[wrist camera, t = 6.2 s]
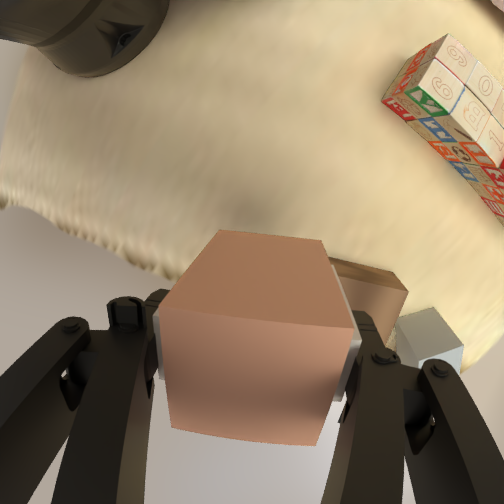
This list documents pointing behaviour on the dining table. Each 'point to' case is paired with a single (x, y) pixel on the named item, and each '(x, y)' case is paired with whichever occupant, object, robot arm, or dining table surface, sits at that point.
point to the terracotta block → (255, 339)
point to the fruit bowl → (499, 4)
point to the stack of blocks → (456, 113)
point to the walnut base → (372, 293)
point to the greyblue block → (427, 339)
